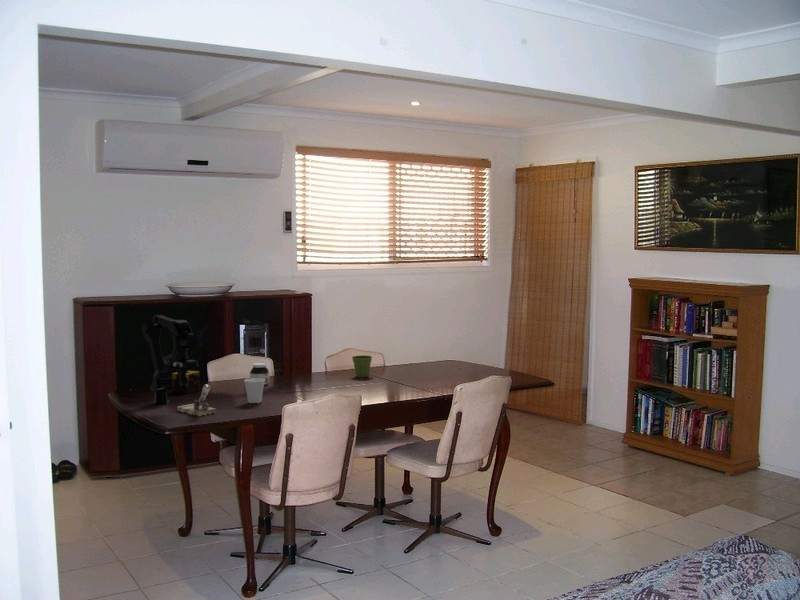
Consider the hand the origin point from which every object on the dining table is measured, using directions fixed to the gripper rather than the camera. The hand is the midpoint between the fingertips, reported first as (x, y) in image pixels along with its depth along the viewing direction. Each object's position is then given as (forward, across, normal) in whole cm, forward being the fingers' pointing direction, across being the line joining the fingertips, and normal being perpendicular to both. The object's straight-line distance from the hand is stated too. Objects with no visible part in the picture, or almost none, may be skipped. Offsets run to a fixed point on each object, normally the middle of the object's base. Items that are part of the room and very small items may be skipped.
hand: (181, 380), depth 374 cm
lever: (+10, +14, 0) cm, 17 cm away
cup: (+13, +15, +30) cm, 36 cm away
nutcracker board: (+13, +12, 0) cm, 18 cm away
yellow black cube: (+13, -34, +25) cm, 44 cm away
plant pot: (+13, +5, +114) cm, 115 cm away
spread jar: (+13, -20, +60) cm, 65 cm away
